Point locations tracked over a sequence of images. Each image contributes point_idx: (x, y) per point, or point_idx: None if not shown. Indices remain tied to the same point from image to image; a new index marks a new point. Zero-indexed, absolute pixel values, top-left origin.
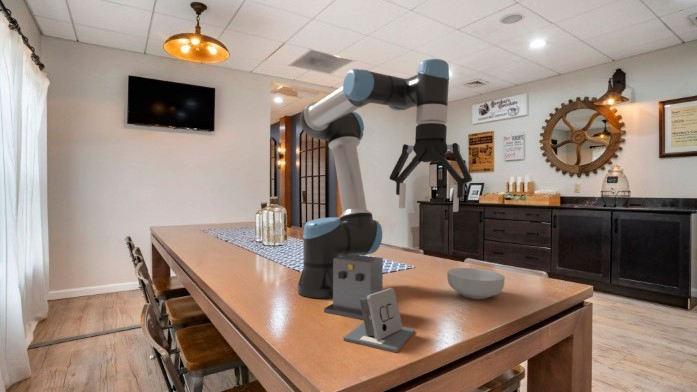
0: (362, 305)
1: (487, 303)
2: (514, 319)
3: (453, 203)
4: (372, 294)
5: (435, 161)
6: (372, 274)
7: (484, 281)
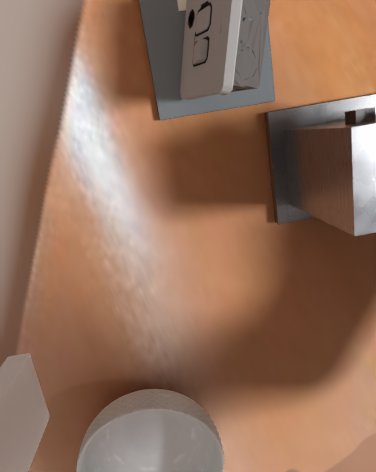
0: None
1: (106, 390)
2: (21, 329)
3: (3, 393)
4: None
5: None
6: (330, 143)
7: (105, 422)
